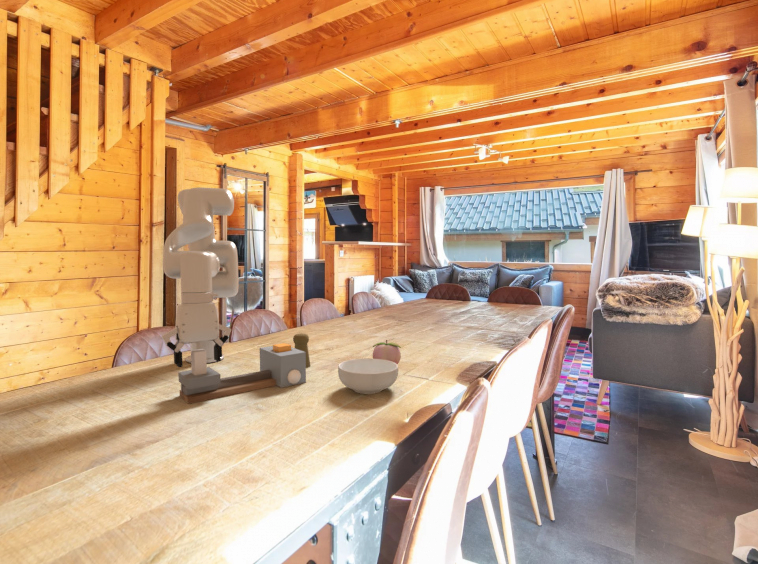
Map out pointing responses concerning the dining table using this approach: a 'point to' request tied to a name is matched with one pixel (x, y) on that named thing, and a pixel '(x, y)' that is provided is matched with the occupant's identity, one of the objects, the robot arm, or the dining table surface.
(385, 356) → the decorative fruit
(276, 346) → the button
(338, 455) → the dining table surface
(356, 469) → the dining table surface
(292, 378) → the grey button housing
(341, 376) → the cereal bowl
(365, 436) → the dining table surface
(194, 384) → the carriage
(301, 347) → the cork
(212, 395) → the rail track
